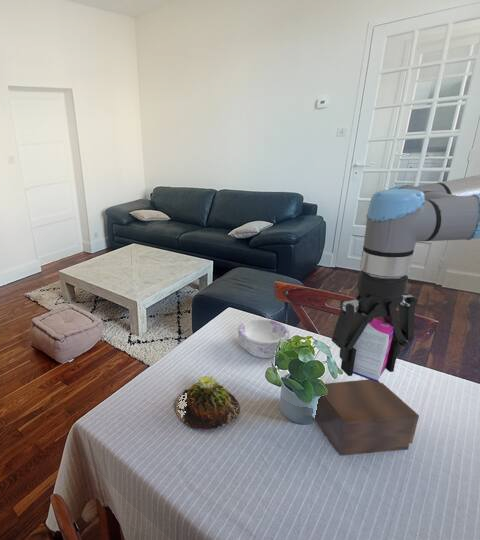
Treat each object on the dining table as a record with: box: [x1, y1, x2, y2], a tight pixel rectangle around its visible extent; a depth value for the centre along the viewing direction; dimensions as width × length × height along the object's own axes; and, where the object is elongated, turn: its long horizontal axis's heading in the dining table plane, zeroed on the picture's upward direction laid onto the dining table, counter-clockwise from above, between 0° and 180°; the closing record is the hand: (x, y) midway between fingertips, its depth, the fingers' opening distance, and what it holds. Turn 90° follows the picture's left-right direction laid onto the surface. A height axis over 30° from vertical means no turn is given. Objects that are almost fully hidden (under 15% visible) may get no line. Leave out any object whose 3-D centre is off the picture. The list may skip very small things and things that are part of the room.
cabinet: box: [314, 378, 416, 456], centre depth 77 cm, size 15×12×10 cm
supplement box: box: [352, 318, 394, 382], centre depth 71 cm, size 6×6×12 cm
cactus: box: [174, 375, 241, 430], centre depth 89 cm, size 17×16×10 cm
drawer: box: [380, 382, 420, 445], centre depth 77 cm, size 15×10×8 cm
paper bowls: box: [238, 318, 290, 359], centre depth 110 cm, size 15×15×8 cm
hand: (366, 369), depth 73 cm, fingers closed on supplement box, 8 cm apart
